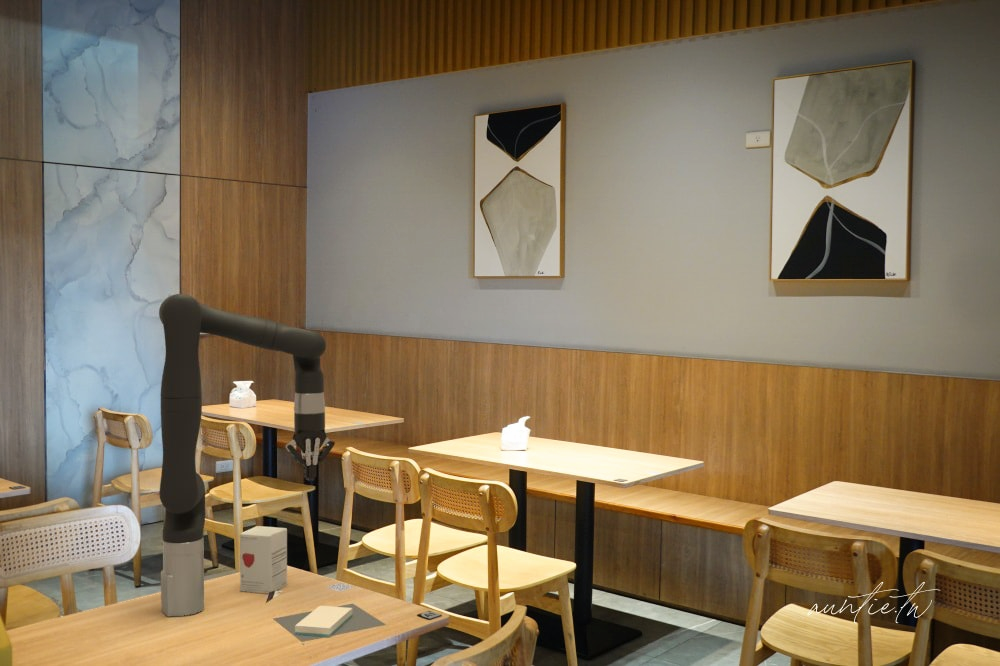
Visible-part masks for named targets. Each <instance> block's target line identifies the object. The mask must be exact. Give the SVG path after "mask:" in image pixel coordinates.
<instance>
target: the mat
mask: <svg viewBox="0 0 1000 666" xmlns="http://www.w3.org/2000/svg"><path fill="white" fill-rule="evenodd" d="M336 607H346V608H352V617H351V618H350V619H349V620H348V621H347V622H346V623H345V624H344V625H342V626H341V627H340V628H339V629H338V630H337V631H336V632H335V633H334V634H333V635H331V636H330V637H333V636H338V635H343V634H347V633H351V632H352V633H353V632H359V631H362V630H366V629H371V628H372V629H373V628H376V627H382V626H386V625H387V624H386V623H385V622H382V621H381V620H380V619H378V618H377V617H375V616H374V615H372V614H370V613H369V612H367V611H366V610H364V609H362V608H361V607H359V606H358V605H356V604H355V603H349V604H343V605H338V606H337V605H336ZM313 611H314V610H310V611H307V612H302V613H296V614H289V615H285V616H279V617H275V618H272V620H274V621H275V622H276V623H278V624H279V625H280V626H282V628H284V629H285V630H286V631H288V632H289V633H290V634H291V635H293V637H295V638H296V639H298V640H299V641H300V642H301V643H305V642H307V641H308V642H309V641H313V640H319V639H324V638H325V637H320V636H306V635H295V625H296V624H298V623H299V622H300V621H301V620H303V619H304V618H305V617H306V616H308V615H309V614H310V613H311V612H313Z"/></svg>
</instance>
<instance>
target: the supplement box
mask: <svg viewBox="0 0 1000 666" xmlns="http://www.w3.org/2000/svg"><path fill="white" fill-rule="evenodd" d="M239 562H240V563H239V568H240V570H239V572H240V573H239V575H240V577H239V578H240V579H239V584H240V587H239V588H240V590H239V591H240V592H245V591H247V593H255V592H257V593H256V594H265V593H267V595H269V592H272V591H279V590H280V589H282V588H283V587H285V586H287V585H288V529H287V528H286V527H275V526H262V525H256V526H254V527H252V528H249V529H247V530H245V531H243V532H241V533H239Z"/></svg>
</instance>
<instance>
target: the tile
mask: <svg viewBox="0 0 1000 666" xmlns="http://www.w3.org/2000/svg"><path fill="white" fill-rule="evenodd" d="M312 611H313V612H311V613H310V614H309V615H308V616H306V617H305V618H304V619H303V620H301V621H300V622H299V623H298V624H296V625H295V635H306V636H320V637H324V638H331V637H332V636H331V635H333V634H334V633H335V632H336V631H337V630H338V629H339V628H340V627H341V626H342V625H344V624H345V623H346V622H347V621H348V620H349V619H350V618H351V617H352V608H346V607H337V606H330V605H329V606H328V605H318V607H316V608H315V609H314V610H312Z"/></svg>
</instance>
